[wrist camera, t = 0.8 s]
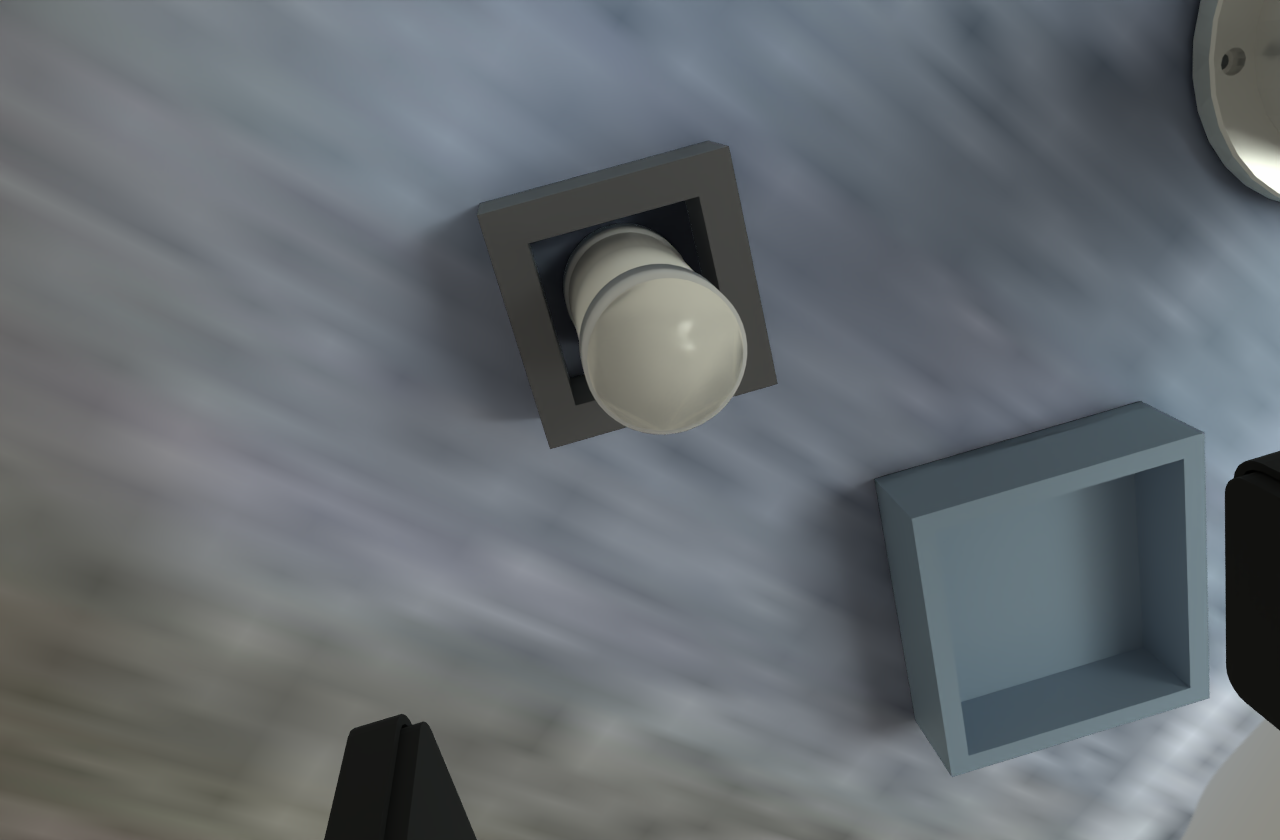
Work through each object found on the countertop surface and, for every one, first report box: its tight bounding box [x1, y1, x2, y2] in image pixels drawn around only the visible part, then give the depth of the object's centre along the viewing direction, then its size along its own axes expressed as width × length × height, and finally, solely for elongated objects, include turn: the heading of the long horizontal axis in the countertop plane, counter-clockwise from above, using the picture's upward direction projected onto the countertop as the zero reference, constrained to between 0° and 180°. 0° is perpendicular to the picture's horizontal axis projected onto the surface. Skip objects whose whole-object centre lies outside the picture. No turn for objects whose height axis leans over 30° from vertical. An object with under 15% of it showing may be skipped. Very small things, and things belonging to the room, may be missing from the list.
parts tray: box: [874, 401, 1210, 777], centre depth 36 cm, size 11×12×4 cm
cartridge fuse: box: [563, 223, 747, 434], centre depth 27 cm, size 4×4×9 cm
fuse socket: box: [477, 141, 777, 449], centre depth 30 cm, size 8×8×3 cm
